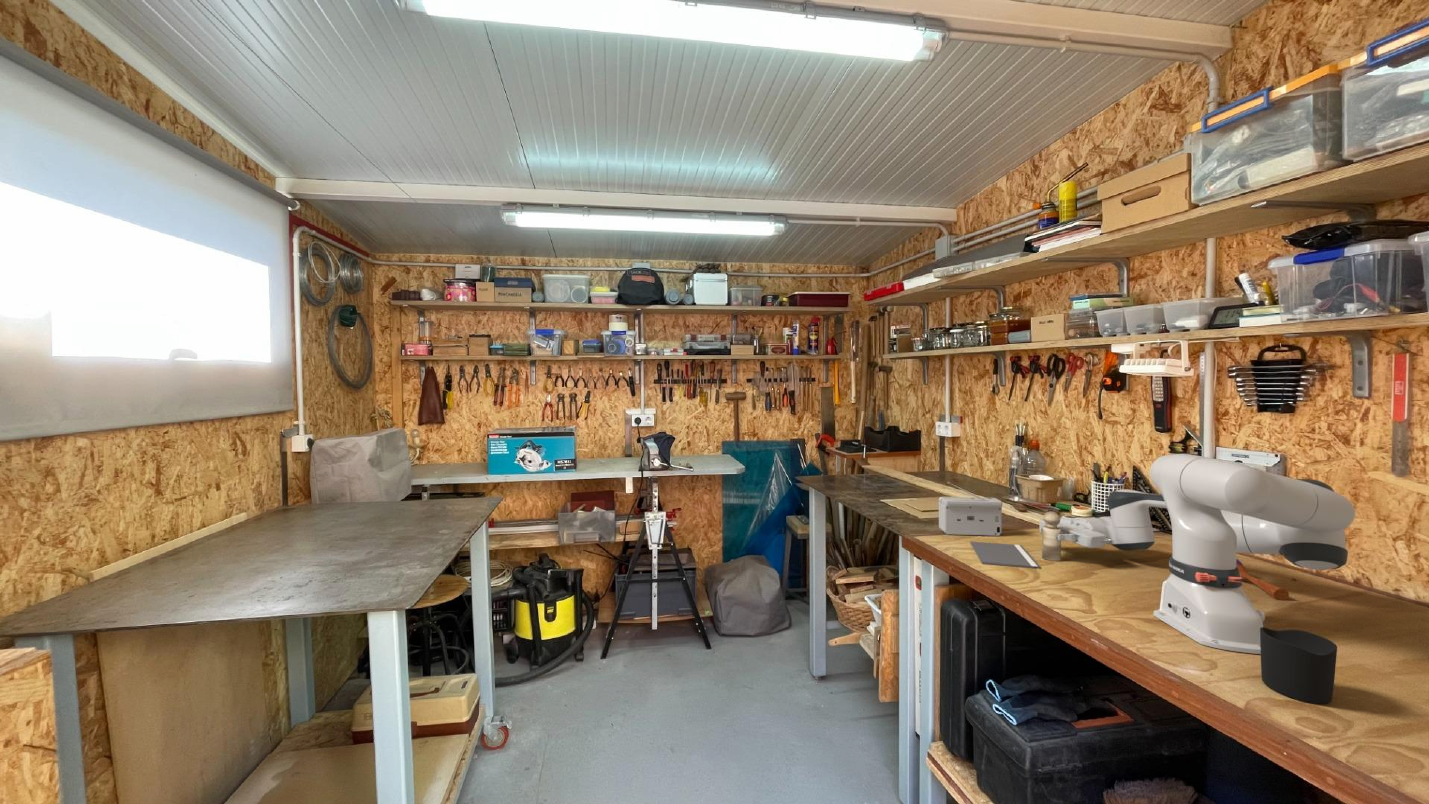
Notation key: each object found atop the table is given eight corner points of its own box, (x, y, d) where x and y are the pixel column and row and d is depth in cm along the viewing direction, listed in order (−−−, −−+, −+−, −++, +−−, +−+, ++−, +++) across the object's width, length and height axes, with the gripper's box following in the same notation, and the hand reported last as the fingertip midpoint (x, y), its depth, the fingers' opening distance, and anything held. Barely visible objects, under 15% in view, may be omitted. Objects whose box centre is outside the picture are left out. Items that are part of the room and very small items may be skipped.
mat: (1040, 568, 159) (1040, 566, 159) (982, 563, 164) (982, 561, 164) (1021, 546, 180) (1021, 545, 180) (970, 543, 185) (970, 541, 185)
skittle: (1062, 562, 164) (1063, 514, 164) (1044, 560, 166) (1045, 513, 165) (1057, 556, 169) (1058, 510, 169) (1040, 555, 171) (1040, 509, 170)
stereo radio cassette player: (995, 531, 199) (995, 479, 198) (1004, 537, 191) (1004, 483, 190) (938, 529, 202) (938, 478, 201) (944, 536, 194) (944, 482, 193)
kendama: (1266, 585, 135) (1208, 554, 154) (1269, 607, 135) (1210, 573, 155) (1293, 582, 134) (1231, 551, 153) (1296, 604, 134) (1234, 570, 154)
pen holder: (1332, 713, 89) (1334, 656, 89) (1254, 687, 97) (1255, 635, 97) (1338, 693, 95) (1339, 639, 94) (1263, 671, 102) (1265, 621, 102)
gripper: (1116, 551, 159) (1076, 554, 157) (1061, 532, 179) (1025, 534, 177) (1116, 531, 159) (1076, 533, 157) (1061, 514, 179) (1025, 516, 177)
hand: (1049, 534), depth 167 cm, fingers open, 5 cm apart
